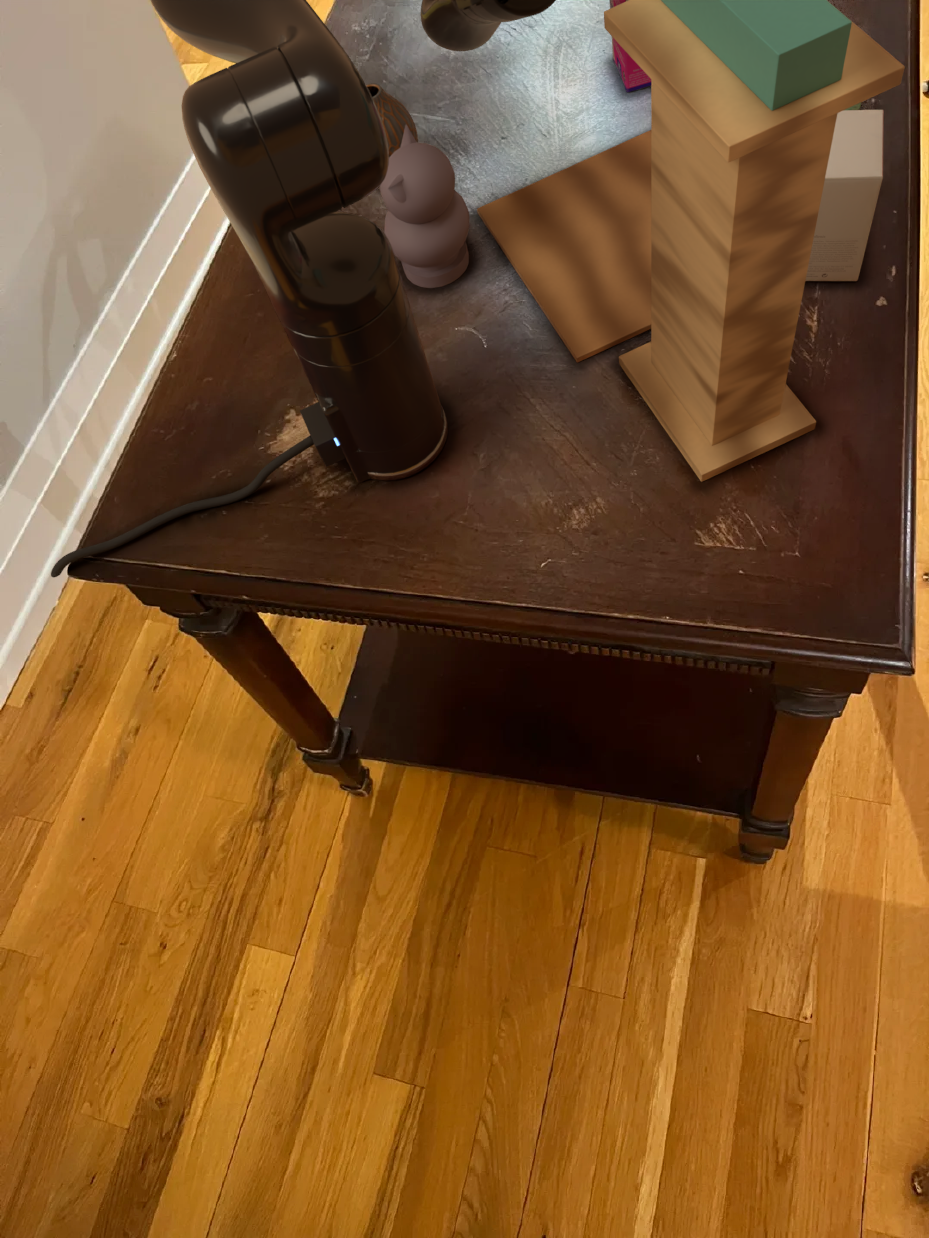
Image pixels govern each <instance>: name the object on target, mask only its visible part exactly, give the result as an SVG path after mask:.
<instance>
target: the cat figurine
mask: <svg viewBox="0 0 929 1238" xmlns="http://www.w3.org/2000/svg"><path fill="white" fill-rule="evenodd" d="M455 188H456V174H455V170H454V167H453V165H452V162H451V161H450V159H449V157H448V156H447V155H446V154H445V152H443V151H442V150H441V149H440V148H438V147H437V146H435V145H433V144H429V143H426V142H419V141H418V142H416V140H415V138H414V137H413V135H412V133H411V131H410V130H409V128H408V126H407V124H406V125H405V130H404V134H403V139H402V143H401V148H399V149H398V150H396V151H395V152H394V153H393V154H392V155H391V156H390V157H389V165H388V170H387V174H386V177H385V179H384V181H383V182H382V183H381V185H380V186H379V192H380V195H381V198H382V201H383V203H384V206H385V208H386V209H387V212H386V214H385V216H384V218H385V219H384V231H383V232H384V234H385V235H386V237H387V238H388V240H389V242H390V244H391V247H392V249H393V252H394V255H395V257H396V258H397V259H398V260H399V261H400V262H401V265H402V269H403V272H404V274H405V277H406V279H408V280H409V281H410V283H412V284H413V285H415V286H418V287H421V288H427V289H434V288H441V287H444V286H447V285H449V284H452V283H454V282H455V281H456V280H457V279H459V278H460V277H461V276H463V274H464V273H465V272H466V270H467V268H468V265H469V263H470V255H469V254H470V253H469V250H468V249H469V248H468V245H467V241H466V240H467V237H468V234H469V231H470V211H469V208H468V206H467V204H466V202H465V199H464V197H463V195H461V194H460V193H459V192H458V191H457V190H456V189H455Z"/></svg>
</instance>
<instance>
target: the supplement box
mask: <svg viewBox="0 0 929 1238" xmlns="http://www.w3.org/2000/svg"><path fill="white" fill-rule="evenodd" d="M608 1H609V9H611V8H613V7H615V6H617V5H620V4H622V3H624V2H626V1H629V0H608ZM610 36H611V35H610ZM611 52H612V53H611V54H612V62H613V63H614V65H615V68H616V69H617V71H618V74H619V76H620V78H621V81H622V83H623V86H624V89H625V92H626V93H631V92H632V93H633V92H635V91H639V90H641V89H642V90H643V89H645V88H648V87H651V78H650V77H649V76H648V75H647V74H646V73H645V72H644V71H643V70H642V69H641V67H640V66H639V65H638V64H637V63H636V62H635V61H634V60H633V59H632V58H631V57H630V55H629V54H628V53H627V52H626V51H625V50H624V49H623V48H622V47H621V46H620V45H619V44H618V42H617V41H616V40H615V39H614V38H613V37H612V36H611Z"/></svg>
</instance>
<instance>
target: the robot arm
mask: <svg viewBox="0 0 929 1238" xmlns="http://www.w3.org/2000/svg"><path fill="white" fill-rule="evenodd" d="M556 1H557V0H421V5H420V23H421V26H422V29H423V31H424V32H425V34H426V36H427V37H428V38H429V39H430V40H431V41H432V42H433V43H435V44H436V45H437V46H438V47H440V48H442V49H445V50H448V51H452V52H469V51H474V50H476V49H479V48H480V47H482V46H484V45H485V44H486V43H488V42H489V41H490V40H491V38H492V37H493V36H494V34H495V32H496V31H497V30H498V28H499V27H500V25H502V23H509V22H514V21H519V20H521V19H526V18H529V17H534V16H537V15H539V14H542V13H543V12H545V11H546V10H548V9H549V8H550V7H551V6H552V5H553V4H555V2H556ZM150 3H151V4H152V6H153V8H154V10H155V12H156V14H157V15H158V17H159V19H161V20H162V22H163V23H164V24H165V25H166V26H167V28H169V30H170V31H171V32H173V33H174V34H175V35H176V36H177V37H179V38H180V39H181V40H183V41H184V42H185V43H186V44H188V45H190V46H192V47H193V48H196V49H197V50H199V51H200V52H203V53H205V54H207V55H209V56H213V57H215V58H218V59H220V60H224V61H226V62H230V63H233V64H232V65H229V66H228V67H225V68H222V69H220V70H217V71H216V72H214V73H211V74H209V75H207V76H205V77H203V78H201V79H199V80H197V81H195V82H193V83H192V84H190V85H189V86H188V87H187V88H186V89H185V90H184V92H183V95H182V100H181V118H182V124H183V128H184V131H185V135H186V138H187V141H188V144H189V147H190V149H191V151H192V153H193V155H194V158H195V160H196V162H197V165H198V167H199V169H200V171H201V172H202V173H201V174H202V175H203V176H204V178H205V180H206V182H207V184H208V186H209V188H210V190H211V192H212V193H213V195H214V197H215V199H216V200H217V202H218V204H219V206H220V207H221V209H222V211H223V213H224V214H225V216H226V218H227V219H228V221H229V223H230V225H231V226H232V228H233V231H234V232H235V233H236V235H237V237H238V239H239V240H240V242H241V244H242V246H243V248H244V251H246V254H247V255H248V257H249V258H250V261H251V263H252V265H253V267H254V269H255V271H256V273H257V275H258V277H259V279H260V282H261V284H262V286H263V288H264V291H265V292H266V293H265V294H266V295H267V297H268V299H269V303H270V304H271V306H272V308H273V310H274V313H275V314H276V316H277V318H278V320H279V322H280V324H281V326H282V328H283V330H284V333H285V334H286V336H287V338H288V340H289V342H290V345H291V346H292V349H293V351H294V353H295V355H296V357H297V359H298V361H299V364H300V365H301V368H302V370H303V372H304V375H306V378H307V380H308V382H309V384H310V387H311V388H312V391H313V393H314V395H315V397H316V399H317V402H315V403H313V404H311V405H309V406H306V407H304V408H302V409H300V410H299V413H300V416H301V417H302V419H303V421H304V424H305V427H306V429H307V431H308V433H309V435H308V436H307V437H305V438H304V439H302V440H301V441H299V442H297V443H296V444H294V445H292V446H291V447H289V448H288V449H287V450H285V451H284V452H281V454H279V455H277V456H276V457H275V458H274V459H272V460H271V461H270V462H269V463H268V464H266V465H265V466H263V468H262V469H261V470H260V471H259V472H258V473H257V475H256V476H255V478H254V479H252V481H251V482H250V483H249V484H248V485H246V486H245V487H242V488H241V489H238V490H237V491H236V490H235V491H234V492H231V493H228V494H224V495H219V496H214V497H209V498H205V499H201V500H195V501H192V502H189V503H185V504H183V505H180V506H177V507H175V508H173V509H170V510H167V511H165V512H163V513H161V514H159V515H157V516H155V517H153V518H151V519H149V520H148V521H146V522H144V523H142V524H139V525H138V526H136V527H134V528H132V529H131V530H128V531H126V532H124V533H122V534H120V535H118V536H116V537H114V538H112V539H109V540H106V541H102V542H100V543H97V544H94V545H89V546H85V547H82V548H79V549H76V550H73V551H71V552H69V553H66V554H64V555H63V556H62V557H61V558H59V559H58V560H57V561H56V562H55V563H54V565H53V566H52V569H51V572H50V577H52V578H58V577H59V576H61V574H62V573H63V572H64V569H65V568H66V567H67V566H68V565H70V564H72V563H73V562H74V563H75V562H76V561H78V560H80V559H84V558H87V557H91V556H94V555H98V554H99V555H100V554H101V553H106V552H108V551H111V550H114V549H116V548H118V547H119V548H120V547H121V546H123V545H125V544H127V543H130V542H131V541H133V540H135V539H137V538H139V537H141V536H143V535H145V534H146V533H148V532H151V531H152V530H154V529H156V528H158V527H161V526H162V525H164V524H166V523H168V522H170V521H172V520H175V519H177V518H179V517H182V516H184V515H187V514H188V515H189V514H192V513H194V512H198V511H201V510H206V509H211V508H215V507H216V508H217V507H221V506H225V505H229V504H232V503H236V502H238V501H240V500H243V499H246V498H248V497H249V496H251V495H252V494H254V493H255V492H257V491H258V489H259V488H261V487H262V485H263V484H264V482H265V481H266V480H267V479H268V478H269V476H270V475H271V474H272V473H273V472H275V471H276V470H277V469H279V468H280V467H281V466H283V465H284V464H286V463H287V462H289V461H290V460H292V459H294V458H295V457H297V456H298V455H299V454H301V453H303V452H304V451H306V450H307V449H309V448H310V447H312V446H313V445H314V447H315V449H316V451H317V453H318V454H319V456H320V458H321V460H322V462H323V464H324V466H325V467H326V468H328V467H330V466H332V465H334V464H336V463H339V462H341V461H343V460H346V462H347V464H348V466H349V468H350V470H351V472H352V474H353V475H354V476H353V477H354V478H355V481H356V482H357V483H363V482H365V481H367V480H370V479H372V480H375V481H396V480H401V479H406V478H408V477H411V476H414V475H416V474H417V473H420V472H421V471H423V470H424V469H426V468H428V466H429V465H431V464H432V463H433V462H434V461H435V460H436V459H437V458H438V456H439V455H440V453H441V452H442V450H443V448H444V446H445V445H446V442H447V438H448V433H449V432H448V431H449V427H448V426H449V425H448V419H447V417H446V412H445V410H444V408H443V405H442V403H441V400H440V397H439V395H438V391H437V388H436V385H435V382H434V378H433V376H432V372H431V369H430V366H429V362H428V359H427V356H426V352H425V350H424V349H425V348H424V347H423V346H424V345H423V343H422V339H421V337H420V333H419V329H418V326H417V324H416V320H415V317H414V314H413V310H412V308H411V304H410V301H409V298H408V295H407V292H406V288H405V285H404V281H403V278H402V275H401V272H400V268H399V265H398V262H397V258H396V255H395V254H394V252H393V249H392V247H391V244H390V242H389V240H388V238H387V237H386V235H385V233H384V231H383V230H382V229H381V227H380V226H379V225H377V224H376V223H375V222H373V221H372V220H370V219H369V218H366V217H364V216H362V215H359V214H356V213H352V212H345V211H341V210H342V209H343V208H344V209H345V208H347V207H349V206H352V205H353V204H355V203H358V202H360V201H362V200H363V199H365V198H366V197H369V195H370V194H372V193H374V192H375V191H376V190H378V189H379V188H380V185H381V183H382V182H383V181H384V179H385V177H386V174H387V170H388V165H389V150H388V142H387V137H386V133H385V129H384V126H383V123H382V120H381V117H380V114H379V112H378V110H377V107H376V105H375V103H374V101H373V98H372V96H371V94H370V92H369V90H368V88H367V86H366V82H365V80H364V79H363V77H362V75H361V73H360V72H359V70H358V68H357V67H356V65H355V63H354V62H353V61H352V59H351V58H350V56H349V54H348V53H347V52H346V50H345V49H344V48H343V46H342V45H341V44H340V42H339V40H338V39H337V37H336V36H335V35H334V34H333V33H332V32H331V30H330V29H329V28H328V26H327V25H326V24H325V23H324V21H323V19H322V18H321V17H320V16H319V15H318V13H317V12H316V11H315V9H313V7H312V6H311V4H310V3H309V2H308V1H307V0H150Z"/></svg>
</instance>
